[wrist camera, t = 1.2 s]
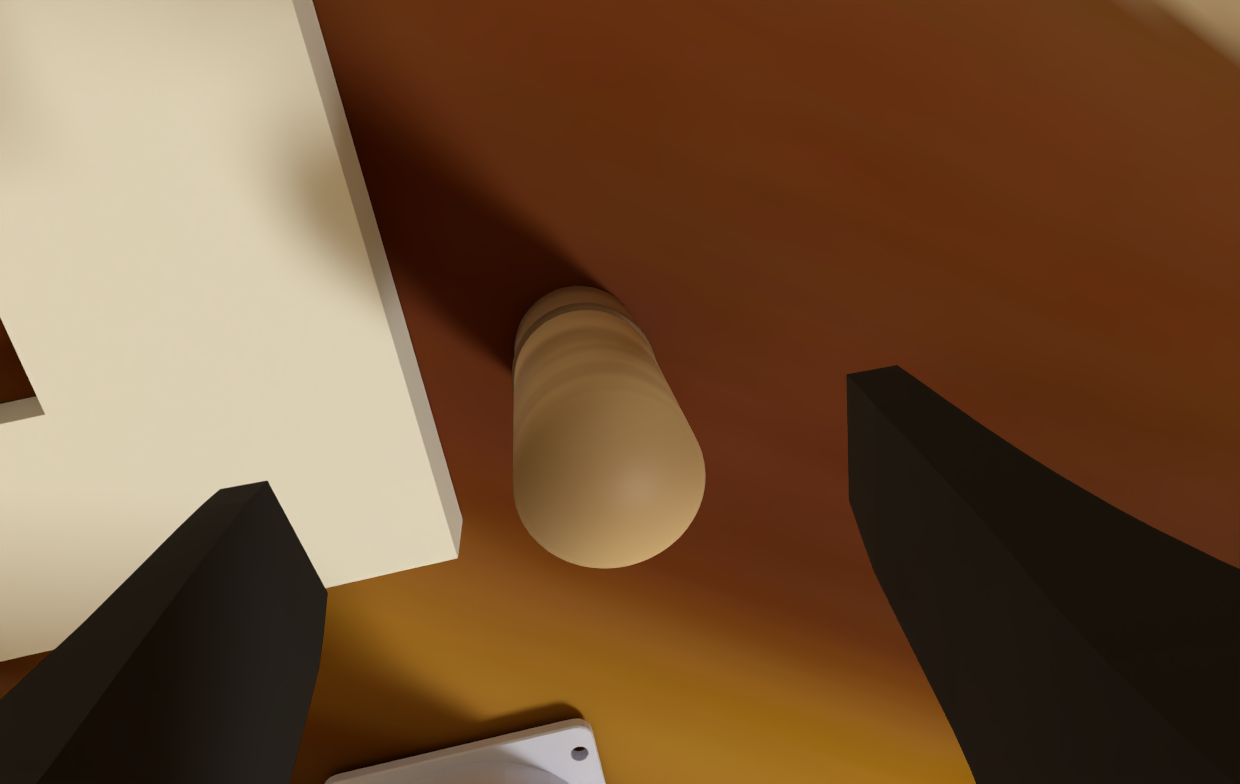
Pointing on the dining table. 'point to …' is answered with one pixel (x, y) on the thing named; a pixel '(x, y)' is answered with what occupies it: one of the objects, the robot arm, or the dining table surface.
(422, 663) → the dining table surface
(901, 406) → the robot arm
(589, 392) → the peg
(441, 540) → the board
